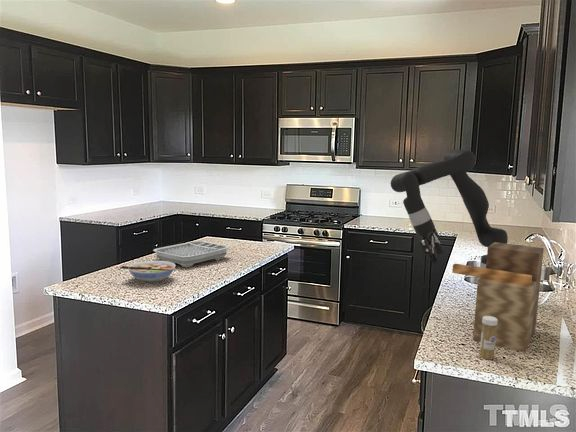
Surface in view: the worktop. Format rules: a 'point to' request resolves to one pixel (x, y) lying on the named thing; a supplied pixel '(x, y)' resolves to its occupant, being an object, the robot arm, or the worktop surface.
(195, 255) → the dish rack
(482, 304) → the box
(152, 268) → the ramen bowl
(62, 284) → the worktop surface
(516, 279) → the dowel
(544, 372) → the worktop surface
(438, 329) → the worktop surface
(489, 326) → the sprinkles bottle
